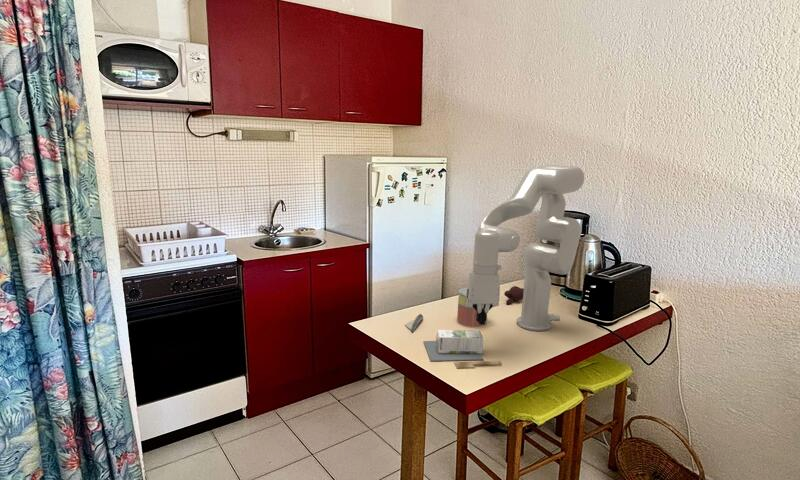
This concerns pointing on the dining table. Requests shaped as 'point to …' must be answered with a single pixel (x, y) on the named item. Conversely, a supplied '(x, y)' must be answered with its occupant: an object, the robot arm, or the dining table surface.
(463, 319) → the canned food
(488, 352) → the dining table surface
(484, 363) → the spatula
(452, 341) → the syrup box
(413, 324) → the ceramic fragment
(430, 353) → the mat
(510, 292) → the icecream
